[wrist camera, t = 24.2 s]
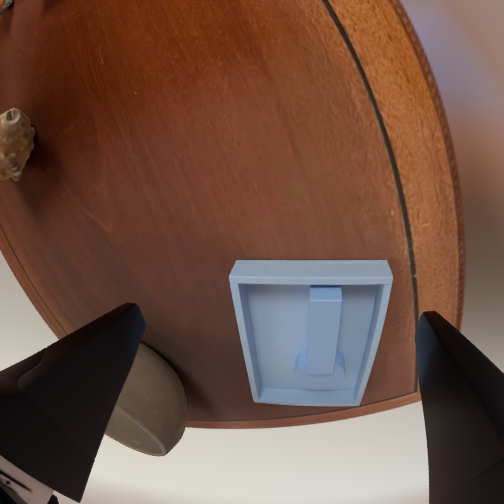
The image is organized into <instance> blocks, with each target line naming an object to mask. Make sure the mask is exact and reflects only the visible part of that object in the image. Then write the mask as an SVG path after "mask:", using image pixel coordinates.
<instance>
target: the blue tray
mask: <svg viewBox="0 0 504 504" xmlns="http://www.w3.org/2000/svg"><path fill="white" fill-rule="evenodd" d="M229 280H230V286H231V292H232V297H233V302H234V308H235V313H236V318H237V323H238V328H239V333H240V338H241V343H242V348H243V353H244V358H245V363H246V368H247V373H248V377H249V382H250V387H251V392H252V396H253V401H254V402H258V403H268V404H281V405H298V406H359V405H360V402H361V400H362V397H363V394H364V391H365V388H366V385H367V382H368V379H369V376H370V372H371V369H372V366H373V362H374V359H375V355H376V352H377V348H378V345H379V341H380V337H381V333H382V329H383V325H384V321H385V316H386V312H387V307H388V302H389V298H390V293H391V287H392V282H393V275H392V272H391V270H390V267H389V265H388V262H387V260H237V261H236V263H235V265H234V267H233V269H232V271H231V273H230V275H229ZM310 285H341V290H342V310H341V320H340V329H339V337H338V345H337V350H339V351H340V352H341V353H342V354H343V356H344V360H345V377H344V379H343V381H342V382H341V383H340V384H339V385H337V386H335V387H333V388H330V389H325V390H313V389H308V388H305V387H303V386H301V385H299V384H298V383H297V382H296V380H295V378H294V371H295V363H296V358H297V356H298V354H299V353H300V352H301V351H303V350H305V349H307V348H308V329H309V290H310Z"/></svg>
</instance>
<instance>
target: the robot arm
mask: <svg viewBox="0 0 504 504" xmlns="http://www.w3.org/2000/svg"><path fill="white" fill-rule="evenodd" d="M145 326H146V323H145V320H144V317H143V315H142V313H141V310H140V308H139V306H138V305H137V304H135V303H125V304H123V305H121V306H119V307H117V308H116V309H114V310H112V311H110V312H108V313H106V314H105V315H103V316H101V317H99V318H97V319H96V320H94V321H92V322H90V323H89V324H87V325H85V326H83V327H81V328H80V329H78V330H76V331H74V332H73V333H71V334H69V335H67V336H65V337H64V338H62V339H60V340H59V341H57V342H55V343H53V344H51V345H50V346H48V347H47V348H44V349H43V350H41V351H39V352H37V353H36V354H34V355H32V356H30V357H28V358H26V359H24V360H22V361H20V362H19V363H16V364H14V365H12V366H10V367H8V368H6V369H4V370H2V371H0V504H59V503H58V499H57V497H56V496H55V495H53V494H52V493H53V491H54V490H55V491H57V492H59V493H60V494H62V495H64V496H66V497H68V498H70V499H72V500H74V501H76V502H79V503H80V501H81V499H82V496H83V493H84V490H85V487H86V484H87V481H88V478H89V475H90V472H91V469H92V466H93V463H94V460H95V459H94V458H95V457H96V455H97V452H98V449H99V446H100V444H101V441H102V438H103V436H104V433H105V431H106V428H107V426H108V423H109V420H110V418H111V415H112V413H113V410H114V408H115V406H116V403H117V401H118V398H119V396H120V393H121V391H122V389H123V386H124V384H125V382H126V379H127V377H128V375H129V373H130V370H131V368H132V365H133V363H134V360H135V357H136V354H137V351H138V348H139V345H140V342H141V339H142V336H143V333H144V330H145ZM415 342H416V352H417V362H418V375H419V385H420V392H421V398H422V405H423V412H424V419H425V428H426V437H427V449H428V465H429V504H504V373H502V371H501V370H499V368H497V367H496V366H495V365H494V364H493V363H492V362H491V361H490V360H489V359H488V358H487V357H486V356H485V355H484V354H483V353H482V352H481V351H480V350H479V349H478V348H476V346H474V345H473V344H472V343H471V342H470V341H469V340H468V339H467V338H466V337H465V336H463V335H462V334H461V333H460V332H459V331H458V330H457V329H456V328H455V327H453V326H452V325H451V324H450V323H449V322H448V321H447V320H445V319H444V318H443V317H442V316H441V315H440V314H438V313H437V312H436V311H425V312H423V313H422V315H421V317H420V321H419V324H418V327H417V330H416V334H415Z"/></svg>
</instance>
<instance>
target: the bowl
mask: <svg viewBox="0 0 504 504" xmlns="http://www.w3.org/2000/svg"><path fill="white" fill-rule="evenodd" d="M187 419H188V405H187V399H186V394H185V391H184V388H183V385H182V383H181V381H180V379H179V377H178V375H177V374H176V373H175V371H174V370H173V369H172V368H171V367H170V365H169V364H168V363H167V362H166V361H165V360H164V359H163V358H162V357H160V356H159V355H158V354H157V353H156V352H154V351H153V350H152V349H151V348H149V347H148V346H146V345H145V344H143V343H142V342H140V345H139V348H138V351H137V354H136V357H135V360H134V363H133V365H132V368H131V370H130V373H129V375H128V377H127V379H126V382H125V384H124V386H123V389H122V391H121V393H120V396H119V398H118V401H117V403H116V406H115V408H114V410H113V413H112V415H111V418H110V420H109V423H108V426H107V428H106V431H105V433H104V434H105V435H107V436H109V437H111V438H112V439H114V440H116V441H118V442H120V443H121V444H123V445H125V446H127V447H130V448H132V449H134V450H136V451H139V452H141V453H145V454H148V455H152V456H164V455H166V454H167V453H168V452H169V451H170V450H171V449H172V448H173V447H174V446H175V445H176V444H177V443H178V442H179V440H180V439H181V438H182V435H183V433H184V430H185V427H186V424H187Z"/></svg>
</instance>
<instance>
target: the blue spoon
mask: <svg viewBox="0 0 504 504" xmlns="http://www.w3.org/2000/svg"><path fill="white" fill-rule="evenodd" d="M341 310H342V290H341V285H310V290H309V329H308V348H307V349H305V350H303V351H301V352H300V353H299V354H298V356H297V358H296V363H295V371H294V378H295V380H296V382H297V383H298V384H299V385H301V386H303V387H305V388H308V389H313V390H325V389H330V388H333V387H335V386H337V385H339V384H340V383H341V382H342V381H343V379H344V377H345V360H344V356H343V354H342V353H341V352H340V351H339V350H337V345H338V337H339V329H340V320H341Z"/></svg>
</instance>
